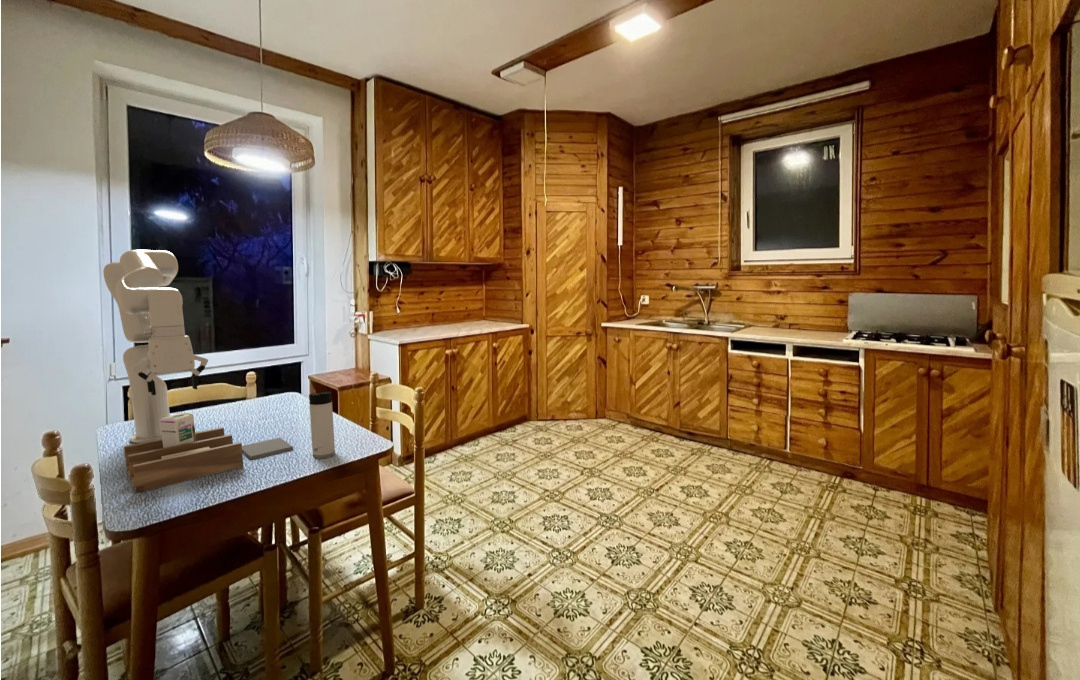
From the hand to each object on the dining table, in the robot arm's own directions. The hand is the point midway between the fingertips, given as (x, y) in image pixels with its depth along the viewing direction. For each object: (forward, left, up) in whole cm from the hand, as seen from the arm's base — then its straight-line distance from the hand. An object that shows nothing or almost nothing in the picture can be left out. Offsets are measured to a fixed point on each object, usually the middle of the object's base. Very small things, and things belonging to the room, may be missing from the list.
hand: (174, 391), depth 140 cm
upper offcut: (+9, 0, -19) cm, 21 cm away
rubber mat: (+5, +21, -22) cm, 31 cm away
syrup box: (0, 0, -22) cm, 22 cm away
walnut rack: (+5, 0, -22) cm, 22 cm away
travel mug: (+23, +32, -22) cm, 45 cm away
